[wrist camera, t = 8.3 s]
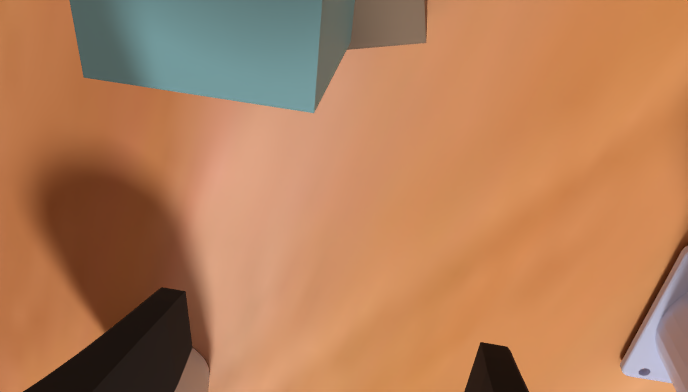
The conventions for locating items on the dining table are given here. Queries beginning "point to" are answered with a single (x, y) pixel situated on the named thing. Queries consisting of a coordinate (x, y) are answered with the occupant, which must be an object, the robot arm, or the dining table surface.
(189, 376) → the cup
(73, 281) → the dining table surface
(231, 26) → the teal block
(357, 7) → the brown block
